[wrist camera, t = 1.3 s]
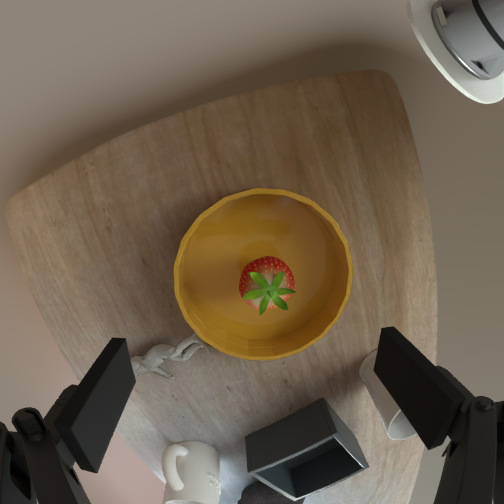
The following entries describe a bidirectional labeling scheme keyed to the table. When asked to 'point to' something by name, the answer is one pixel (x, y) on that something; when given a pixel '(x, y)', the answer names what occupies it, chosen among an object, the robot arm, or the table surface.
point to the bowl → (249, 249)
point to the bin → (304, 452)
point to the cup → (385, 402)
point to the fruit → (266, 284)
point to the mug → (191, 473)
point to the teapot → (265, 495)
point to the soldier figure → (166, 355)
